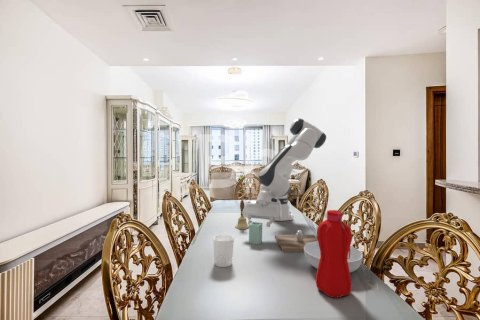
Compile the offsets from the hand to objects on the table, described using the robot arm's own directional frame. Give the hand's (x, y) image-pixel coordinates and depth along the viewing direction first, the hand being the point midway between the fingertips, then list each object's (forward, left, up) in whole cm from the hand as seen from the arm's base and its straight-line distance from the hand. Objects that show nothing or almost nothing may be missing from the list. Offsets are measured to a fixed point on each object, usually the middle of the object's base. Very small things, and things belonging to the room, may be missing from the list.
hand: (258, 225), depth 128 cm
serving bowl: (+18, +35, -8) cm, 41 cm away
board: (-4, +19, -8) cm, 21 cm away
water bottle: (+36, +37, -8) cm, 53 cm away
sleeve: (+2, -1, -8) cm, 8 cm away
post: (-4, +19, -6) cm, 21 cm away
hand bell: (-20, -17, -8) cm, 27 cm away
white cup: (+31, -4, -8) cm, 33 cm away
